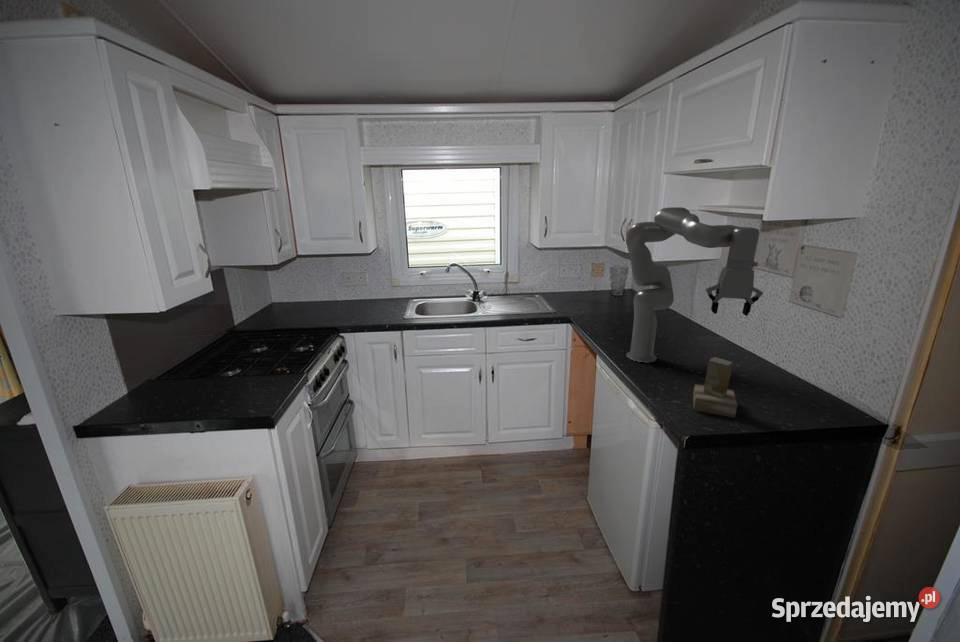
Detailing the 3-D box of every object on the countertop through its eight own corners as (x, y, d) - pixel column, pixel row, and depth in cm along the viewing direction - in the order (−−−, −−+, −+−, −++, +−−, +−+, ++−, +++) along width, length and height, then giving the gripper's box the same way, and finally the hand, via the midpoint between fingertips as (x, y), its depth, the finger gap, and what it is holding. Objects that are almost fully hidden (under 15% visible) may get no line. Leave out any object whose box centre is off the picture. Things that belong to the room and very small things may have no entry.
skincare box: (702, 392, 139) (707, 359, 136) (707, 388, 142) (712, 356, 138) (722, 398, 135) (728, 365, 131) (727, 394, 137) (733, 361, 134)
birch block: (692, 396, 147) (694, 383, 146) (730, 403, 142) (733, 390, 141) (693, 411, 137) (695, 398, 135) (734, 419, 132) (737, 405, 130)
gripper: (763, 264, 137) (752, 312, 142) (707, 262, 141) (699, 309, 146) (773, 268, 130) (761, 318, 135) (714, 265, 134) (705, 315, 139)
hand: (729, 313), depth 140 cm, fingers open, 9 cm apart
